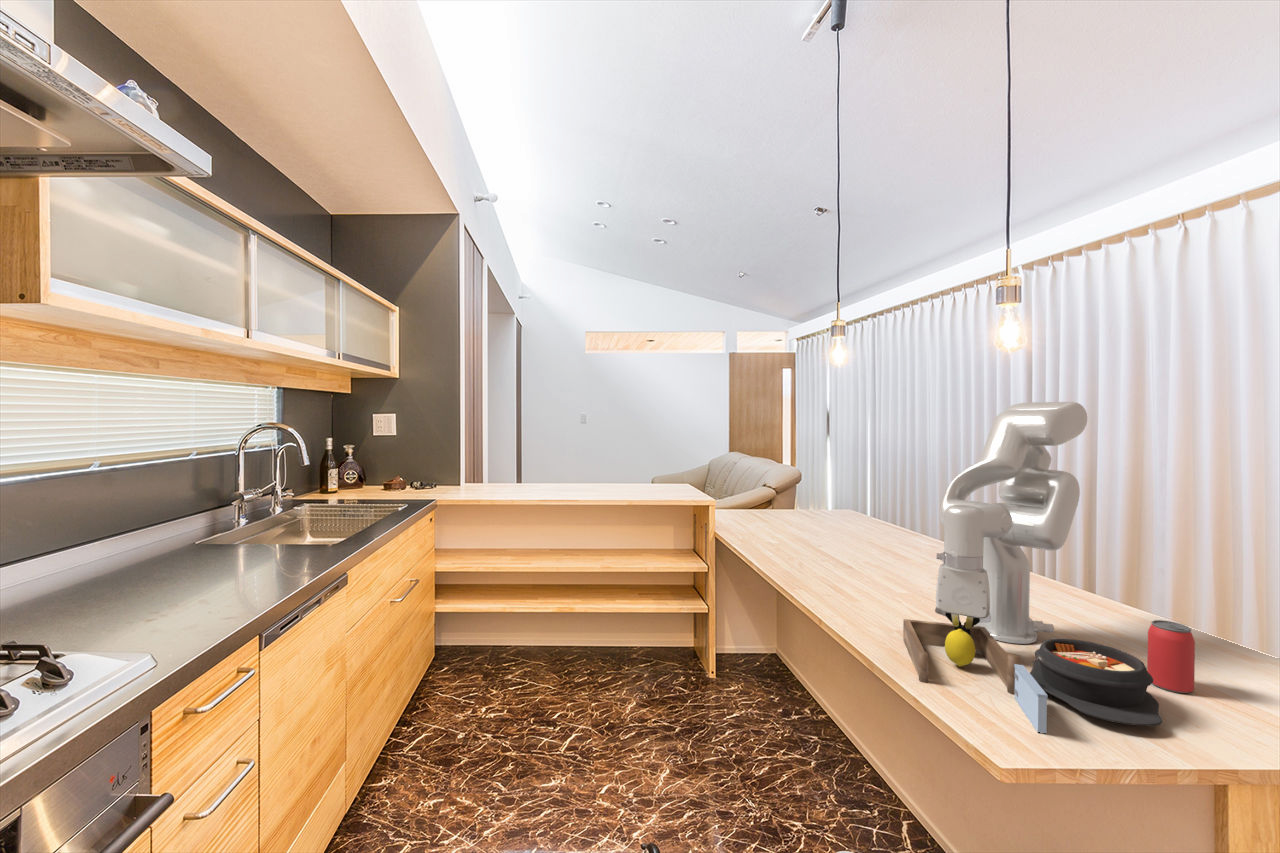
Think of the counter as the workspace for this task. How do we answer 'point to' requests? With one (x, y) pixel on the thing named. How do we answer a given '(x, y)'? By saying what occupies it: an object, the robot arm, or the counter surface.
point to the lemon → (960, 647)
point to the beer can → (1171, 656)
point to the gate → (1031, 698)
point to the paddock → (936, 636)
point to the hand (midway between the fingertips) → (962, 643)
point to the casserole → (1097, 681)
